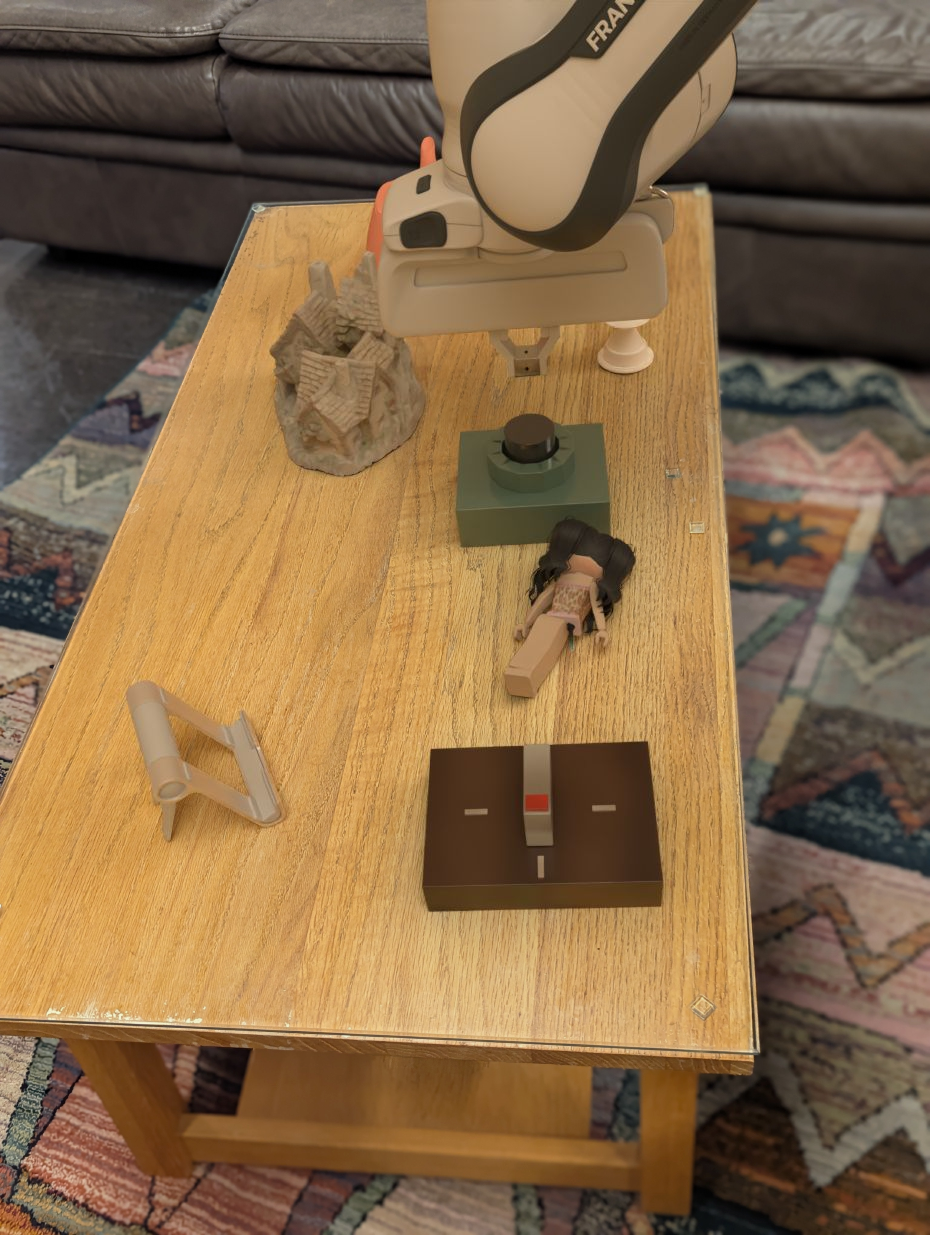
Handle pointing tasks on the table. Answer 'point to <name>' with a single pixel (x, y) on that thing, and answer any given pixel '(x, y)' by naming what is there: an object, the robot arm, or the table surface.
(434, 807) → the dial panel
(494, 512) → the green push button box
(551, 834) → the dial
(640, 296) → the robot arm
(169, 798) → the tablet stand
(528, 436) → the knob
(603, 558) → the toy figure
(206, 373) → the table surface
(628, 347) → the candle
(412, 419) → the ceramic cottage
